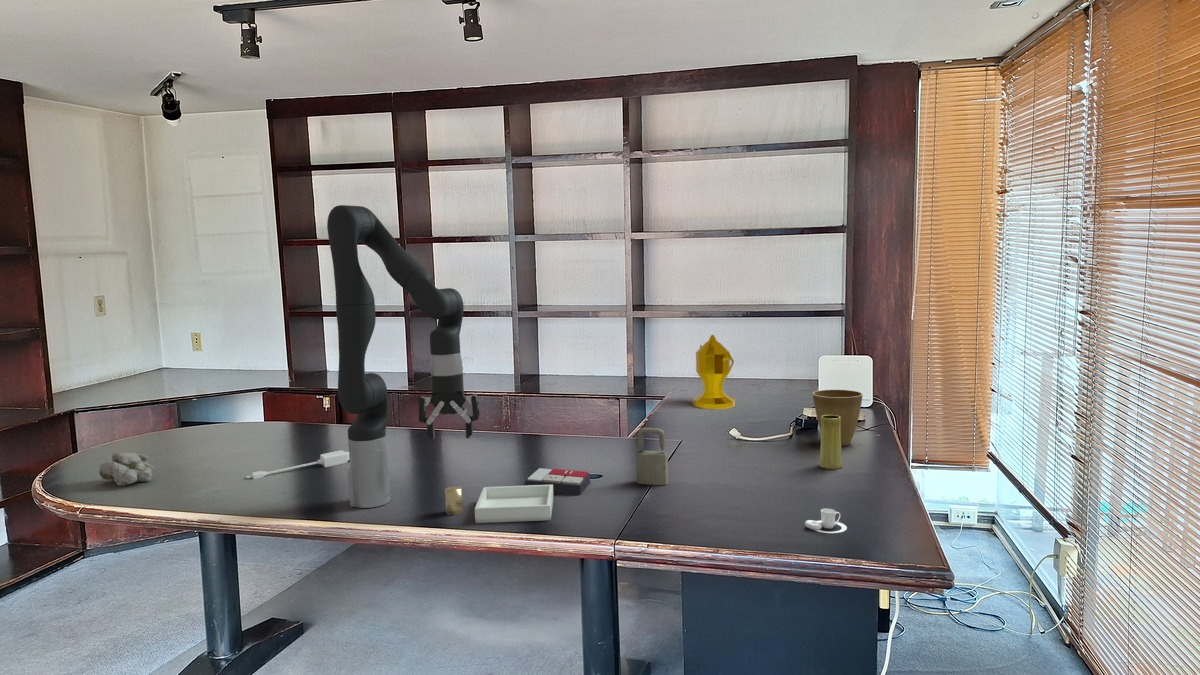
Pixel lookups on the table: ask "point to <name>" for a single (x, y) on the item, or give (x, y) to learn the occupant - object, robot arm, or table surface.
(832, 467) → the vase
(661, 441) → the padlock
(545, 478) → the calculator
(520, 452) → the table surface
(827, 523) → the teacup and saucer
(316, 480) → the table surface
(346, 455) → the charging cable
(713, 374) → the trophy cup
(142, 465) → the mineral
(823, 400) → the plant pot
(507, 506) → the tray
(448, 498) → the cylinder
